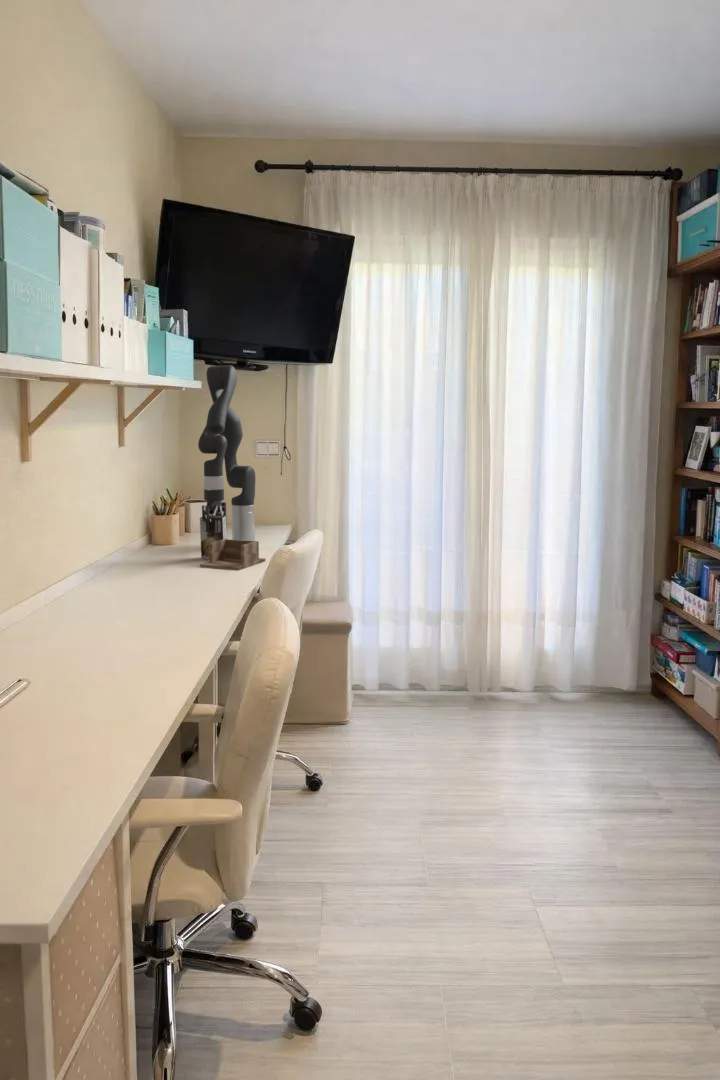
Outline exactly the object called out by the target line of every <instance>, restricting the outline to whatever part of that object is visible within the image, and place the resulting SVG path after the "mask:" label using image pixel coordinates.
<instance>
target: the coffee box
mask: <svg viewBox="0 0 720 1080" xmlns="http://www.w3.org/2000/svg"><path fill="white" fill-rule="evenodd" d="M205 518H206V515H205ZM227 520H228V519H227V515H226V516H215V517H214V518H213V520H212V532H211V533H209V532H207V531H206V522H205V521H202V516H201V517H199V529H200V530H199V531H200V553H201V555H200V560H209V543H212V542H216V541H220V540H224V539H228V526H227V525H228V523H227Z"/></svg>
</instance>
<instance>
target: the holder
mask: <svg viewBox="0 0 720 1080" xmlns="http://www.w3.org/2000/svg"><path fill="white" fill-rule="evenodd" d="M259 545H260V544H259V540H255V541H245V540H232V539H230V538H229V539H228V538H227V539H224V540H220V541H216V542H212V543H209V559H208V560H209V561H207V562H204V563H201V564H200V566H199V567H200V568H205V567H206V568H209V569H219V568H220V570H233V571H240V570H244V569H246V568H250V567H253V566H255V565H258V564H261V563H264V562H266V558H265V557H263V558H262V557H260V552H259V551H260V550H259V549H260V547H259Z"/></svg>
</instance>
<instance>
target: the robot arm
mask: <svg viewBox="0 0 720 1080" xmlns="http://www.w3.org/2000/svg"><path fill="white" fill-rule="evenodd" d="M237 380H238V376H237V370H236V368H235V367H234V366H233V365H231V364H228V365H227V364H225V365H223V364H222V365H215V366H214V365H213V366H209V367H208V368H207V369H206V381H207V385H208V389H209V393H210V396H211V400H212V403H213V404H212V405H211V407H210V408H209V410H208V413H207V418H206V424H205V427H204V429H203V431H202V432H201V435H200V436H199V439H198V441H197V442H198V443H197V444H198V445H197V446H198V450H199V451H200V453H202V454H210V455H212V454H213V455H215V454H216V456H215V458H212V459H208V460H205V461H204V462H203V500H204V501H206V505H205V504H204V505H201V517H202V521H205V522H206V531H207V532H209V533H211V532H212V520H213V518H214V517H215V516H226V517H227V503H226V501H225V502H223V501H224V500H225V487H224V486H225V483H224V482H225V481H224V476H223V475H224V471H223V469H224V468H225V477H226V482H227V484H228V486H229V487H230V488H234V489H241V493H240V494H238V495H236V496H232V498H231V501H230V502H231V531H232V532H231V540H245V541H256V530H255V529H256V528H255V526H256V522H255V498H256V472H255V468H253V466H251V465H238V461H237V460H238V459H237V452H238V449H239V447H240V445H241V443H242V440H243V439H242V438H243V436H244V435H243V427H242V423H241V419H240V417H239V416H238V414H237V413H236V411H235V410H234V409H233V408H232V407H231V406H230V404H231V403H232V399H233V395H234V392H235V389H236V386H237V382H238V381H237ZM205 516H206V518H205Z"/></svg>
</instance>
